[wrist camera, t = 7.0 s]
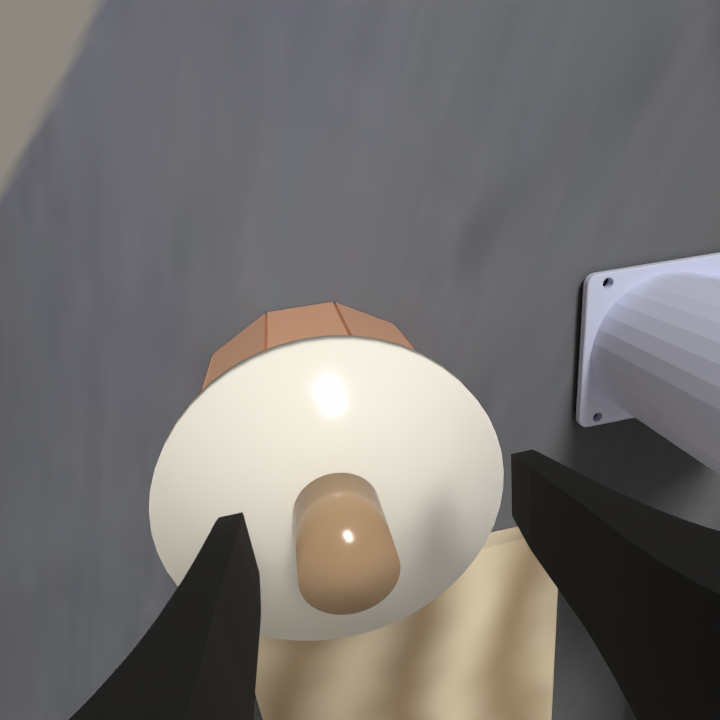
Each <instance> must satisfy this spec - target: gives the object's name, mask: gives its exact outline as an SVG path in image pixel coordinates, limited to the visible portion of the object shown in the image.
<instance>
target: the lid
mask: <svg viewBox="0 0 720 720" xmlns="http://www.w3.org/2000/svg"><path fill="white" fill-rule="evenodd" d="M503 473H504V470H503V462H502V453H501V449H500V445H499V442H498V438H497V435H496V432H495V430H494V428H493V426H492V424H491V422H490V419H489V417H488V416H487V414H486V413H485V411H484V410H483V408H482V407H481V405H480V404H479V402H478V401H477V399H476V398H475V397H474V396H473V395H472V394H471V393H470V392H469V391H468V389H467V388H466V387H465V386H464V385H463V384H462V383H461V382H460V381H459V380H458V379H457V378H456V377H455V376H454V375H453V374H452V373H451V372H449V371H448V370H447V369H445V368H444V367H443V366H442V365H440V364H439V363H438V362H436V361H434V360H432V359H431V358H429V357H427V356H425V355H424V354H422V353H420V352H418V351H415V350H413V349H410V348H408V347H406V346H403V345H401V344H398V343H394V342H390V341H386V340H382V339H378V338H371V337H363V336H354V335H327V336H319V337H312V338H304V339H299V340H295V341H292V342H288V343H284V344H280V345H277V346H274V347H272V348H269V349H267V350H264V351H262V352H259V353H257V354H254V355H252V356H250V357H248V358H247V359H245V360H243V361H241V362H239V363H237V364H236V365H234V366H232V367H230V368H229V369H228V370H226V371H225V372H224V373H222V374H221V375H219V376H218V377H217V378H215V379H214V380H213V381H211V382H210V383H209V384H208V385H207V386H206V387H205V388H204V389H203V390H202V391H201V392H200V393H199V394H198V395H197V396H196V397H195V398H193V400H192V401H191V402H190V403H189V405H188V406H187V407H186V409H185V410H184V411H183V412H182V414H181V415H180V416H179V417H178V419H177V421H176V423H175V424H174V426H173V428H172V430H171V431H170V433H169V435H168V437H167V439H166V441H165V444H164V447H163V449H162V452H161V454H160V457H159V460H158V462H157V465H156V468H155V470H154V475H153V479H152V484H151V489H150V500H149V517H150V525H151V533H152V536H153V540H154V543H155V546H156V550H157V553H158V555H159V557H160V559H161V561H162V563H163V565H164V567H165V569H166V571H167V572H168V573H169V575H170V576H171V578H172V579H173V580H174V582H175V583H176V585H177V586H179V585H180V583H181V582H182V580H183V578H184V577H185V575H186V573H187V572H188V570H189V568H190V567H191V565H192V563H193V562H194V560H195V558H196V556H197V555H198V553H199V551H200V549H201V548H202V546H203V544H204V542H205V540H206V538H207V537H208V535H209V533H210V531H211V529H212V527H213V525H214V523H215V522H216V520H217V519H218V518H219V517H223V516H227V515H232V514H237V513H241V512H243V515H244V518H245V522H246V526H247V529H248V533H249V537H250V540H251V544H252V548H253V551H254V555H255V558H256V562H257V566H258V569H259V573H260V593H261V622H260V635H261V636H266V637H271V638H277V639H284V640H297V641H319V640H330V639H338V638H345V637H349V636H354V635H359V634H363V633H366V632H369V631H373V630H376V629H379V628H382V627H384V626H387V625H389V624H392V623H394V622H396V621H399V620H401V619H403V618H405V617H407V616H408V615H410V614H412V613H414V612H416V611H418V610H419V609H421V608H422V607H424V606H425V605H427V604H428V603H430V602H431V601H433V600H434V599H436V598H437V597H438V596H439V595H441V594H442V593H443V592H444V591H446V590H447V589H448V588H449V587H450V586H451V585H452V584H453V583H454V582H455V581H456V580H457V579H458V578H459V577H460V576H461V575H462V574H463V573H464V572H465V571H466V570H467V568H468V567H469V566H470V565H471V563H472V562H473V561H474V560H475V558H476V557H477V555H478V554H479V552H480V551H481V549H482V547H483V546H484V544H485V543H486V541H487V539H488V537H489V534H490V532H491V530H492V528H493V526H494V523H495V520H496V517H497V514H498V511H499V508H500V503H501V497H502V492H503Z"/></svg>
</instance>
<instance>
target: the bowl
mask: <svg viewBox="0 0 720 720" xmlns="http://www.w3.org/2000/svg"><path fill="white" fill-rule="evenodd" d="M327 335H354V336H363V337H371V338H378V339H382V340H386V341H390V342H394V343H398V344H401V345H403V346H406V347H408V348H410V349H413V350H415V349H414V348H413V347H412V346H411V344H410V343H409V342H408V341H407V339H406V338H405V337H404V336H403V334H402V333H401V332H400V331H399V329H398V328H397V327H396V326H394V324H392V323H389V322H387V321H384V320H381V319H379V318H376V317H374V316H371V315H368V314H366V313H363V312H360V311H358V310H355V309H352V308H350V307H347V306H344V305H342V304H339V303H335V305H334V304H333V302H329V303H322V304H316V305H310V306H303V307H297V308H291V309H284V310H278V311H272V312H267V316H266V315H265V314H263V315H262V316H261V317H259V318H258V319H257V320H256V321H254V322H253V323H252V324H251V325H249V326H248V327H247V328H245V329H244V330H243V331H242V332H240V333H239V334H238V335H237V336H235V337H234V338H233V339H232V340H230V341H229V342H228V343H227V344H225V345H224V346H223V347H222V348H220V349H219V350H218V351H217V352H215V353H214V355H213V356H212V358H211V361H210V364H209V366H208V369H207V372H206V375H205V378H204V381H203V383H202V386H201V389H200V392H201V391H202V390H203V389H204V388H205V387H206V386H207V385H208V384H209V383H210V382H211V381H213V380H214V379H215V378H217V377H218V376H219V375H221V374H222V373H224V372H225V371H226V370H228V369H229V368H230V367H232V366H234V365H236V364H237V363H239V362H241V361H243V360H245V359H247V358H248V357H250V356H252V355H254V354H257V353H259V352H262V351H264V350H267V349H269V348H272V347H274V346H277V345H280V344H284V343H288V342H292V341H295V340H299V339H304V338H312V337H319V336H327ZM415 351H416V350H415ZM200 392H199V393H200Z"/></svg>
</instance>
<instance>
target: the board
mask: <svg viewBox="0 0 720 720" xmlns="http://www.w3.org/2000/svg"><path fill="white" fill-rule="evenodd" d="M557 596H558V588H557V587H556V585H555V584H554V583H553V581H552V580H551V578H550V577H549V575H548V574H547V573H546V571H545V570H544V568H543V567H542V565H541V564H540V563H539V561H538V560H537V558H536V557H535V555H534V554H533V553H532V551H531V550H530V548H529V546H528V544H527V543H526V541H525V539H524V537H523V535H522V533H521V531H520V529H519V528H518V526H517V527H513V528H508V529H504V530H499V531H495V532H490V534H489V537H488V539H487V541H486V543H485V544H484V546H483V547H482V549H481V551H480V552H479V554H478V555H477V557H476V558H475V560H474V561H473V562H472V563H471V565H470V566H469V567H468V568H467V570H466V571H465V572H464V573H463V574H462V575H461V576H460V577H459V578H458V579H457V580H456V581H455V582H454V583H453V584H452V585H451V586H450V587H449V588H448V589H447V590H446V591H444V592H443V593H442V594H441V595H439V596H438V597H437V598H436V599H434V600H433V601H431V602H430V603H428V604H427V605H425V606H424V607H422V608H421V609H419V610H418V611H416V612H414V613H412V614H410V615H408V616H407V617H405V618H403V619H401V620H399V621H396V622H394V623H392V624H389V625H387V626H384V627H382V628H379V629H376V630H373V631H369V632H366V633H363V634H359V635H354V636H349V637H345V638H338V639H330V640H319V641H297V640H284V639H277V638H271V637H266V636H261V635H260V636H259V649H258V662H257V675H256V687H255V695H256V698H257V702H258V705H259V708H260V712H261V715H262V719H263V720H551V717H552V697H553V677H554V656H555V636H556V616H557Z"/></svg>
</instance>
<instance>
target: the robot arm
mask: <svg viewBox="0 0 720 720" xmlns="http://www.w3.org/2000/svg"><path fill="white" fill-rule="evenodd" d="M606 278H608V282H607V284H606V285H605V286H604V287H603V282H604V280H605V279H606ZM596 413H598V414H597V416H596V417H594V415H595V414H596ZM593 417H594V418H593ZM630 418H636V419H638V420H639V421H641V422H642V423H644V424H645V425H647V426H648V427H650V428H651V429H652V430H654V431H655V432H657V433H658V434H660V435H661V436H663V437H664V438H666V439H667V440H669V441H670V442H672V443H673V444H675V445H676V446H677V447H679V448H680V449H682V450H683V451H685V452H686V453H688V454H689V455H691V456H692V457H694V458H695V459H697V460H698V461H699V462H701V463H702V464H704V465H705V466H707V467H708V468H710V469H711V470H713V471H714V472H716V473H717V474H719V475H720V252H719V253H713V254H707V255H700V256H694V257H688V258H682V259H676V260H669V261H663V262H657V263H651V264H645V265H638V266H632V267H626V268H620V269H614V270H607V271H601V272H595V273H592V274H590V275H589V276H587V277H586V279H585V281H584V285H583V301H582V319H581V336H580V353H579V371H578V388H577V405H576V421H577V422H578V423H579V424H580V425H581V426H583V427H590V426H595V425H600V424H605V423H610V422H615V421H620V420H625V419H630ZM511 472H512V516H513V518H514V520H515V522H516V524H517V526H518V528H519V529H520V531H521V533H522V535H523V537H524V539H525V541H526V543H527V544H528V546H529V548H530V550H531V551H532V553H533V554H534V555H535V557H536V558H537V560H538V561H539V563H540V564H541V565H542V567H543V568H544V570H545V571H546V573H547V574H548V575H549V577H550V578H551V580H552V581H553V583H554V584H555V585H556V587H557V588H558V590H559V591H560V592H561V594H562V595H563V597H564V598H565V599H566V601H567V602H568V604H569V605H570V606H571V608H572V609H573V611H574V612H575V614H576V615H577V616H578V618H579V619H580V621H581V622H582V624H583V625H584V627H585V628H586V630H587V631H588V633H589V634H590V636H591V637H592V639H593V641H594V642H595V644H596V646H597V648H598V649H599V651H600V653H601V655H602V656H603V658H604V660H605V662H606V663H607V665H608V667H609V669H610V670H611V672H612V674H613V675H614V677H615V679H616V681H617V683H618V685H619V686H620V688H621V690H622V692H623V694H624V696H625V697H626V699H627V701H628V703H629V705H630V706H631V708H632V710H633V712H634V714H635V716H636V717H637V719H638V720H720V531H717V530H713V529H710V528H707V527H704V526H701V525H698V524H695V523H692V522H689V521H686V520H683V519H680V518H678V517H675V516H672V515H670V514H667V513H664V512H662V511H659V510H656V509H654V508H652V507H649V506H647V505H644V504H642V503H640V502H637V501H635V500H633V499H631V498H628V497H626V496H624V495H622V494H620V493H617V492H615V491H613V490H611V489H609V488H607V487H605V486H603V485H601V484H599V483H597V482H595V481H593V480H591V479H589V478H587V477H585V476H583V475H581V474H579V473H577V472H575V471H573V470H572V469H570V468H568V467H566V466H564V465H562V464H560V463H558V462H556V461H554V460H553V459H551V458H549V457H547V456H545V455H543V454H541V453H539V452H537V451H534V450H529V451H524V452H519V453H515V454H511ZM260 622H261V593H260V573H259V569H258V566H257V562H256V558H255V555H254V551H253V548H252V544H251V540H250V537H249V533H248V529H247V526H246V522H245V518H244V515H243V512H241V513H237V514H232V515H227V516H223V517H219V518H218V519H217V520H216V522H215V523H214V525H213V527H212V529H211V531H210V533H209V535H208V537H207V538H206V540H205V542H204V544H203V546H202V548H201V549H200V551H199V553H198V555H197V556H196V558H195V560H194V562H193V563H192V565H191V567H190V568H189V570H188V572H187V573H186V575H185V577H184V578H183V580H182V582H181V583H180V585H179V586H178V588H177V590H176V591H175V593H174V594H173V596H172V597H171V598H170V600H169V601H168V603H167V604H166V606H165V607H164V609H163V610H162V612H161V613H160V615H159V616H158V618H157V619H156V620H155V622H154V623H153V625H152V626H151V627H150V629H149V630H148V631H147V633H146V634H145V635H144V637H143V638H142V639H141V640H140V642H139V643H138V644H137V646H136V647H135V648H134V649H133V651H132V652H131V653H130V654H129V656H128V657H127V658H126V659H125V660H124V661H123V663H122V664H121V665H120V666H119V667H118V668H117V669H116V670H115V671H114V673H113V674H112V675H111V676H110V677H109V678H108V679H107V680H106V681H105V683H104V684H103V685H102V686H101V687H100V688H99V689H98V690H97V691H96V693H95V694H94V695H93V696H92V697H91V698H90V699H89V700H88V701H87V702H86V703H85V704H84V705H83V706H82V707H81V708H80V709H79V710H78V711H77V712H76V713H75V714H74V715H73V716H72V717H71V718H70V719H69V720H254V700H255V687H256V675H257V662H258V649H259V636H260Z"/></svg>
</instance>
